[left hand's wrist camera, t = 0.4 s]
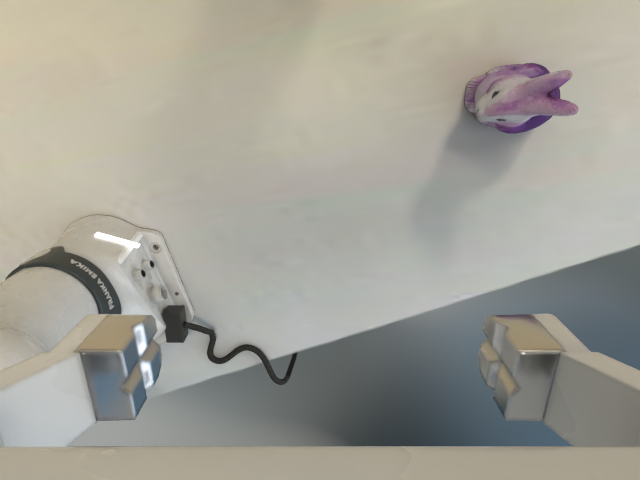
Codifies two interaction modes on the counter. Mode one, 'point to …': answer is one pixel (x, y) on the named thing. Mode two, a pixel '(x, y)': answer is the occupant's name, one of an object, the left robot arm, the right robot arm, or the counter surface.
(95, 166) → the counter surface
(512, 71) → the figurine
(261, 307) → the counter surface
